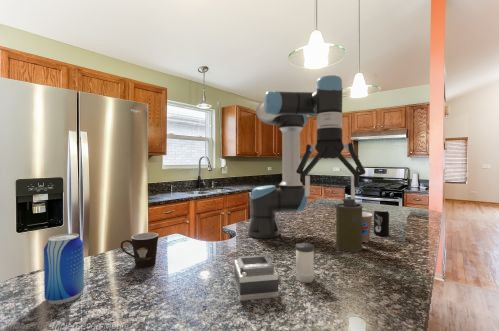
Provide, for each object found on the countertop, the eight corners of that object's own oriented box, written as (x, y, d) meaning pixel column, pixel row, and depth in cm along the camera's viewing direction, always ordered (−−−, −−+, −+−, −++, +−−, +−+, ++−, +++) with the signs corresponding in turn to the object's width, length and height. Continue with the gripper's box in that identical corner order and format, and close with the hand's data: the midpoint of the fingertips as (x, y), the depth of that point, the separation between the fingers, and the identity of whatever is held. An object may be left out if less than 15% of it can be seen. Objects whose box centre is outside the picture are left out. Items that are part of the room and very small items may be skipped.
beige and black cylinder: (293, 275, 83) (293, 243, 83) (309, 274, 84) (309, 242, 84) (299, 283, 78) (299, 249, 77) (316, 281, 79) (316, 248, 78)
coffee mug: (163, 261, 94) (163, 233, 94) (147, 271, 86) (146, 240, 86) (137, 258, 98) (137, 231, 98) (118, 266, 90) (118, 237, 90)
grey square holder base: (234, 279, 80) (234, 255, 80) (267, 277, 82) (267, 253, 82) (240, 300, 68) (240, 271, 68) (278, 296, 70) (278, 268, 70)
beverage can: (390, 237, 124) (390, 211, 124) (375, 236, 125) (375, 211, 125) (386, 233, 130) (386, 208, 130) (372, 232, 132) (372, 208, 131)
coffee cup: (347, 242, 116) (347, 214, 116) (348, 236, 126) (348, 210, 126) (373, 245, 112) (373, 216, 112) (372, 238, 122) (372, 212, 122)
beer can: (58, 290, 74) (57, 232, 74) (89, 289, 74) (89, 232, 74) (36, 307, 65) (35, 242, 65) (72, 305, 66) (71, 241, 66)
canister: (349, 253, 102) (350, 201, 102) (330, 245, 112) (330, 198, 111) (369, 249, 107) (369, 199, 107) (348, 242, 117) (348, 196, 116)
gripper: (286, 129, 84) (286, 196, 84) (373, 123, 73) (373, 201, 73) (294, 131, 91) (294, 194, 91) (374, 126, 79) (374, 198, 80)
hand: (329, 197), depth 82 cm, fingers open, 13 cm apart
